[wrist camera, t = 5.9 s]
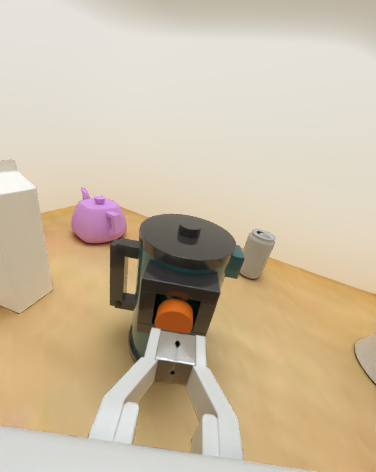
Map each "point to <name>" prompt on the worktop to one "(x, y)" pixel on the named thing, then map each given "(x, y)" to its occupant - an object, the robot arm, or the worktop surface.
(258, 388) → the worktop surface
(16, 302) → the milk
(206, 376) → the robot arm
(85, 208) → the teapot
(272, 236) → the beverage can
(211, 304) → the jug
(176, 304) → the jug button
